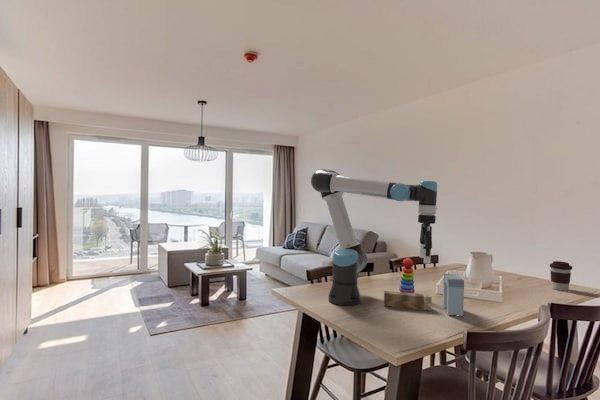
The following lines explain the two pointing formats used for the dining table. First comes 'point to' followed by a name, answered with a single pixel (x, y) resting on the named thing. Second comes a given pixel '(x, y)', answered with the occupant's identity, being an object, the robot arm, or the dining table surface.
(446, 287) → the light blue arch block
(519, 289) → the dining table surface
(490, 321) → the dining table surface
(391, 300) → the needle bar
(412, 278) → the stacking toy
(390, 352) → the dining table surface
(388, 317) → the dining table surface
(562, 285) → the coffee cup
